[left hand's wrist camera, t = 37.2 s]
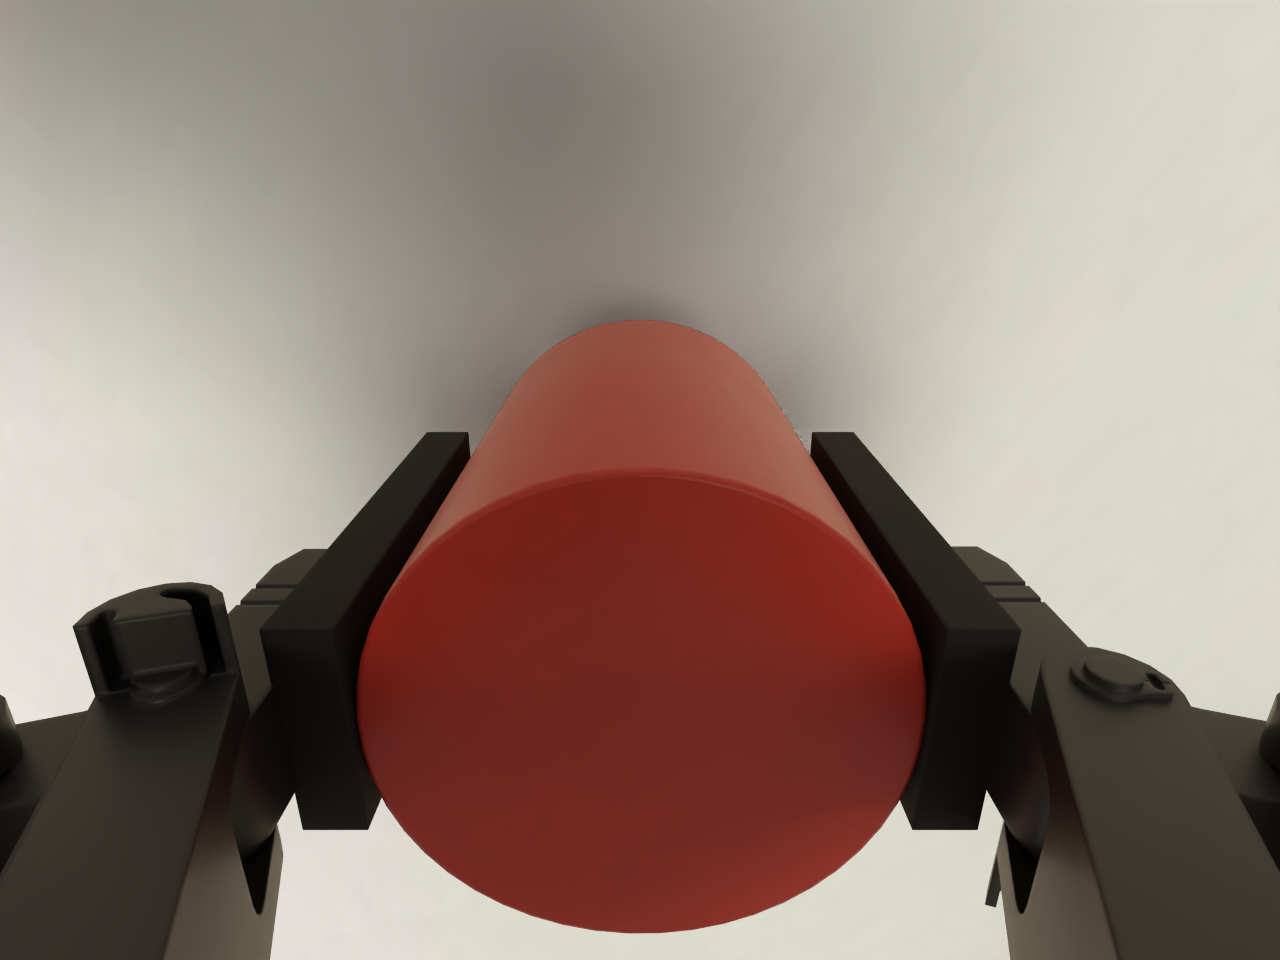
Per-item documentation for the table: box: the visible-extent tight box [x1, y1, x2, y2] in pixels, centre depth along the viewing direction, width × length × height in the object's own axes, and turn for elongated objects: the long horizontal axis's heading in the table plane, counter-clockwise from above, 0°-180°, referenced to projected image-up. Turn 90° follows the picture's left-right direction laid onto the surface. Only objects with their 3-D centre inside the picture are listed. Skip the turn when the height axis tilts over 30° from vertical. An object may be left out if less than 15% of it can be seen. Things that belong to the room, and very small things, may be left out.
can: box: [356, 320, 926, 933], centre depth 12 cm, size 6×6×8 cm
